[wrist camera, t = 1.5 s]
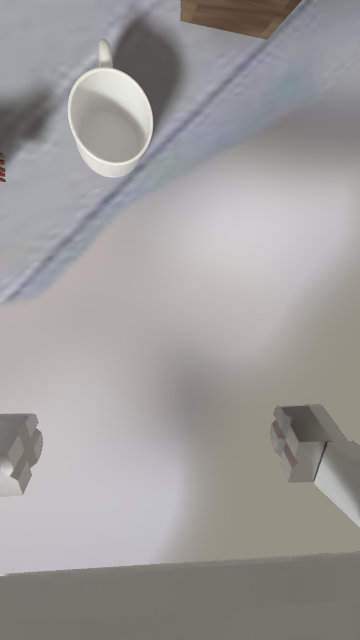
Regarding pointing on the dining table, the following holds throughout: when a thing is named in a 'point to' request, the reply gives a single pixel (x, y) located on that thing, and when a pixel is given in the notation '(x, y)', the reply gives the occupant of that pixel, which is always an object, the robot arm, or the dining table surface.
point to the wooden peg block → (239, 15)
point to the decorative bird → (2, 170)
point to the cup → (110, 118)
